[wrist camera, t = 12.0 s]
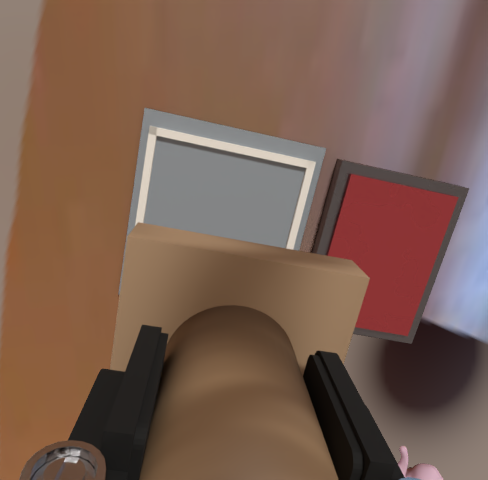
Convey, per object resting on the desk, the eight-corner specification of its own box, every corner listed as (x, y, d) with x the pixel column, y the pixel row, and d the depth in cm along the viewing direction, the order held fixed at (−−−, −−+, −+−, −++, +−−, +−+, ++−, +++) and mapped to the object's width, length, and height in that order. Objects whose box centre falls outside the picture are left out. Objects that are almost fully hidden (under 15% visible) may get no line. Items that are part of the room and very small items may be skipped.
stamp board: (325, 148, 27) (327, 148, 26) (279, 320, 30) (280, 323, 30) (145, 107, 25) (143, 107, 25) (119, 293, 29) (117, 296, 28)
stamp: (344, 252, 14) (577, 488, 5) (297, 417, 16) (405, 806, 7) (142, 216, 13) (-15, 421, 4) (117, 395, 15) (-29, 806, 6)
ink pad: (458, 185, 28) (471, 189, 27) (404, 335, 31) (413, 345, 30) (337, 158, 27) (344, 160, 26) (293, 316, 30) (297, 326, 29)
